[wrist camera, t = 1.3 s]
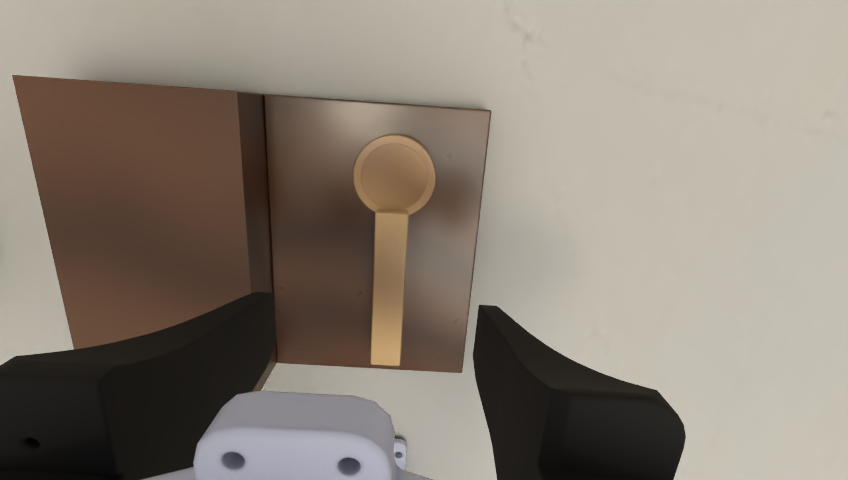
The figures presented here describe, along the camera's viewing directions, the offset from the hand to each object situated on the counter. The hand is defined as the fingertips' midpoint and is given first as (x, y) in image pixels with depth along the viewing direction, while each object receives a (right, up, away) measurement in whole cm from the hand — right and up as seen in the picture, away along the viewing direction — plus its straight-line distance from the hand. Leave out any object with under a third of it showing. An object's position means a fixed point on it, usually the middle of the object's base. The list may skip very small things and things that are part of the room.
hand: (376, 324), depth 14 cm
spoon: (0, +2, +8) cm, 8 cm away
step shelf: (-5, +3, +9) cm, 11 cm away
